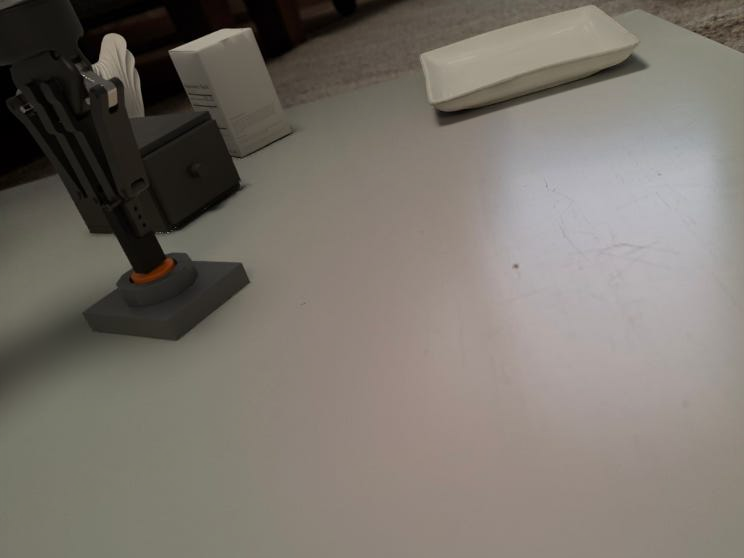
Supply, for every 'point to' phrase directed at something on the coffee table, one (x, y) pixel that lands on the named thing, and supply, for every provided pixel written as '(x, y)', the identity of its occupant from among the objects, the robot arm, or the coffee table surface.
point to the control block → (167, 299)
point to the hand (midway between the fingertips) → (151, 265)
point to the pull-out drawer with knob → (190, 171)
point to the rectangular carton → (232, 88)
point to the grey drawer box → (148, 138)
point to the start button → (154, 272)
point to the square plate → (524, 58)
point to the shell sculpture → (121, 71)
